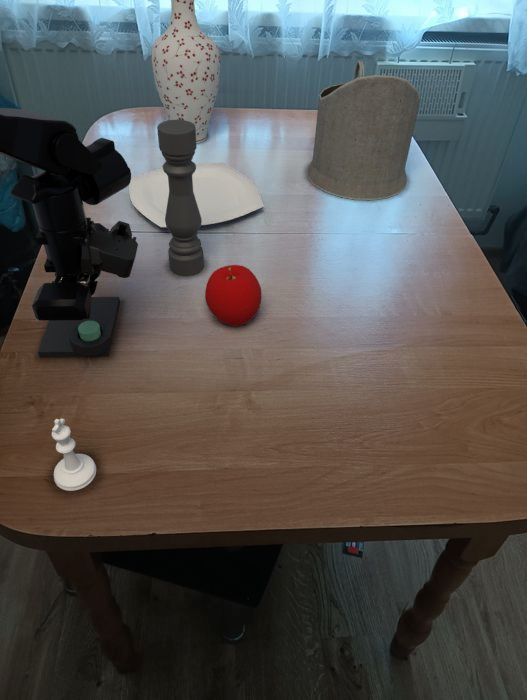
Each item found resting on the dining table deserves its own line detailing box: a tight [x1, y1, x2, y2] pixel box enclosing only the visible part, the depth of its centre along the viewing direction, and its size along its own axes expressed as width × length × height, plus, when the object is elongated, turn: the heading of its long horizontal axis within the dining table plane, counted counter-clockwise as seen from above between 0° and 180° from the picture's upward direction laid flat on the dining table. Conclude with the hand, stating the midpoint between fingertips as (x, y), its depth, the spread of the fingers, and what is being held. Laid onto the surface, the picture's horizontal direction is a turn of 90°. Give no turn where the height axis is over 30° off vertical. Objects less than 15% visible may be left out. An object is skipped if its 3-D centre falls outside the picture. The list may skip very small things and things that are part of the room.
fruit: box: [204, 264, 263, 327], centre depth 84 cm, size 9×9×10 cm
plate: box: [128, 162, 264, 229], centre depth 115 cm, size 27×27×2 cm
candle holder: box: [156, 119, 205, 277], centre depth 89 cm, size 6×6×25 cm
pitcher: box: [306, 60, 421, 201], centre depth 121 cm, size 23×32×25 cm
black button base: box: [37, 296, 121, 359], centre depth 83 cm, size 14×10×3 cm
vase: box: [150, 0, 221, 145], centre depth 127 cm, size 16×16×35 cm
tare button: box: [78, 321, 101, 341], centre depth 79 cm, size 3×3×2 cm
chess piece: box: [51, 417, 97, 492], centre depth 62 cm, size 5×5×10 cm
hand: (86, 317), depth 77 cm, fingers closed
